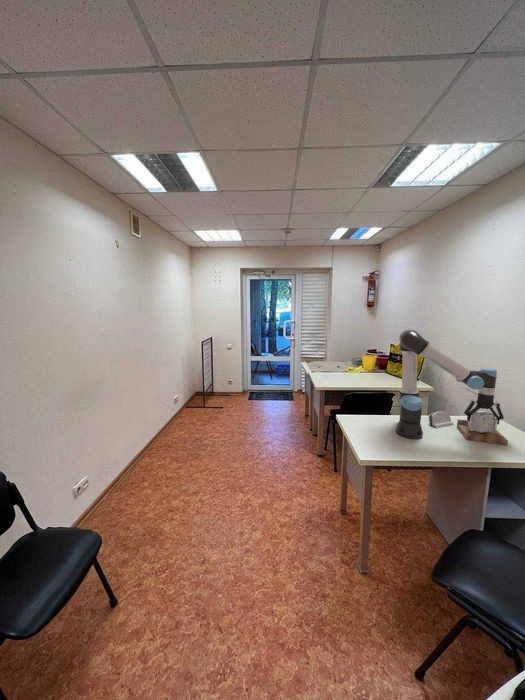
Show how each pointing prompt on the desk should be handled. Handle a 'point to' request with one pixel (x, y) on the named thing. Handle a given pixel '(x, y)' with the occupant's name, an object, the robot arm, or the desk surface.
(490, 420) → the light bulb box
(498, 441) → the walnut stand
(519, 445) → the desk surface
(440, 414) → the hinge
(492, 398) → the robot arm
